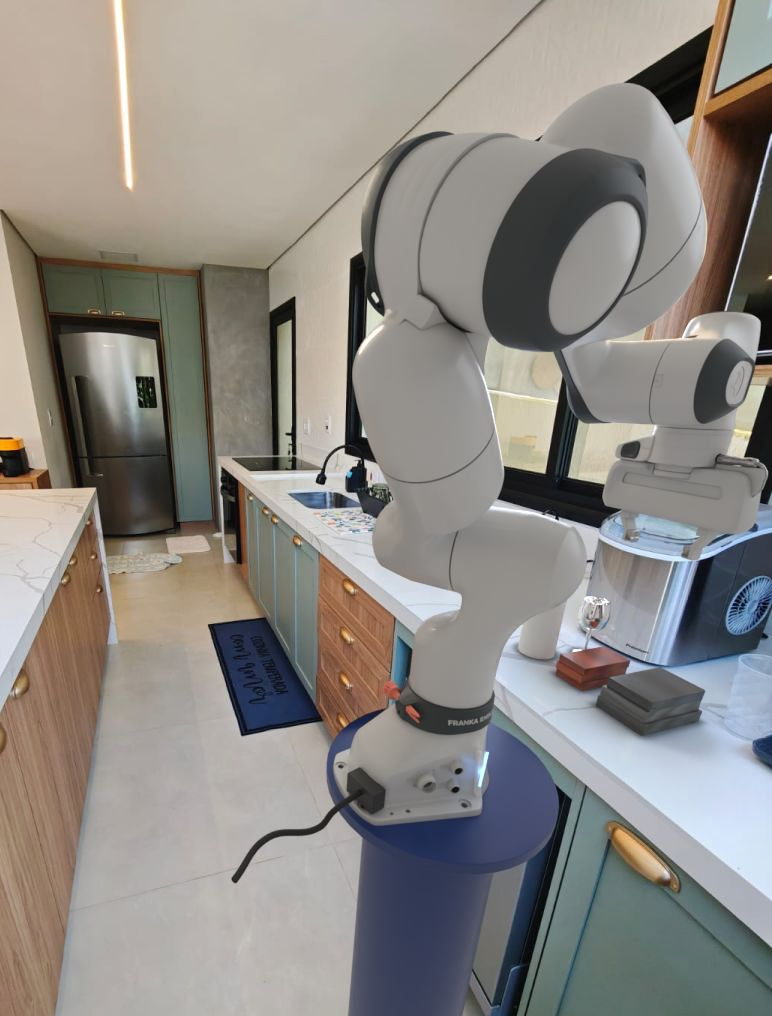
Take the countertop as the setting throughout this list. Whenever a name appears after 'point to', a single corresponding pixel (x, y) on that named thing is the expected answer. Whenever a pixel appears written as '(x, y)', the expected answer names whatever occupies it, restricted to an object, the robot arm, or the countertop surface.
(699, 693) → the grey books
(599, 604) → the wineglass
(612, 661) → the rust booklet
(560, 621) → the cylindrical container
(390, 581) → the countertop surface
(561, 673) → the rust books
